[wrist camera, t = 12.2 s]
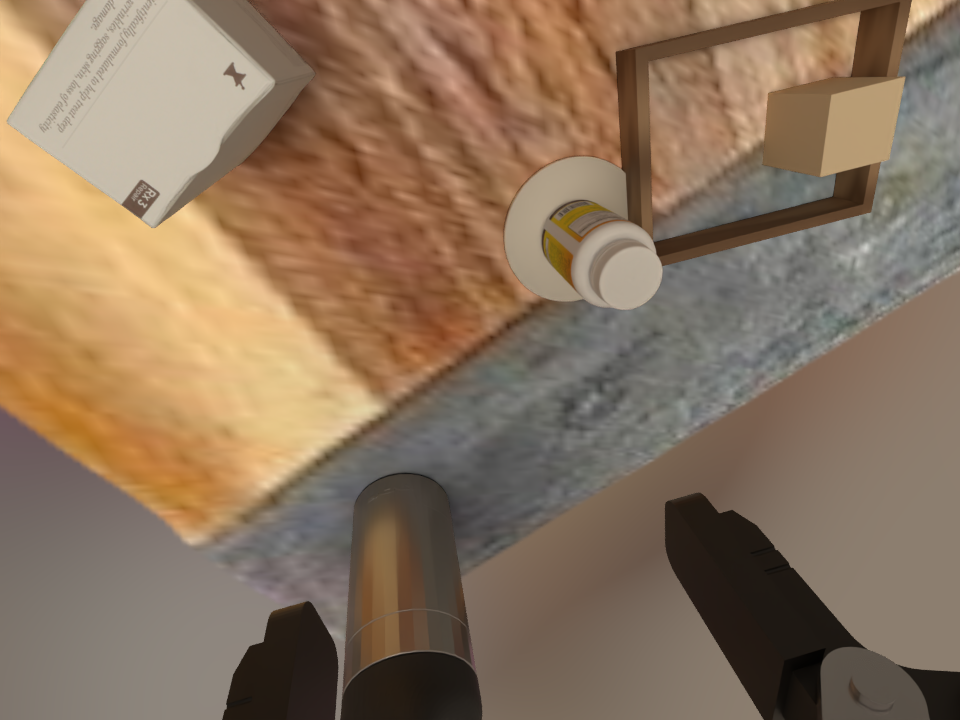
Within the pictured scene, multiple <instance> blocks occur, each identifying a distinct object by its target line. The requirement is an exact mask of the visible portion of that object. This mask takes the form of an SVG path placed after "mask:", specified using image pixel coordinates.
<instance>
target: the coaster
mask: <svg viewBox="0 0 960 720" xmlns="http://www.w3.org/2000/svg"><path fill="white" fill-rule="evenodd" d="M573 200H589V201H592V202H595V203H597V204H599V205H600V206H602V207H604V208H606V209H608V210H610V211H612V212H614V213H616V214H618V215H619V216H621V217H623V218H625V219H627V220H628V210H627V190H626V173H625V172H624V171H623V170H622V169H620V168H619V167H617V166H616V165H614V164H612V163H610V162H608V161H606V160H603V159H599V158H596V157H590V156H572V157H566V158H563V159H559V160H556V161H554V162H552V163H550V164H548V165H546V166H544V167H543V168H541V169H539V170H538V171H537V172H535V173H534V174H533V175H532V176H531V177H530V178H529V179H528V180H527V181H526V182H525V183H524V184H523V185H522V186H521V188H520V189H519V191H518V192H517V193H516V195H515V197H514V199H513V200H512V202H511V205H510V207H509V209H508V212H507V216H506V219H505V225H504V236H503V241H504V250H505V253H506V257H507V260H508V263H509V265H510V267H511V269H512V271H513V272H514V274H515V275H516V277H517V278H518V279H519V281H520V282H521V283H522V284H523V285H524V286H525V287H526V288H527V289H529V290H530V291H532V292H533V293H535V294H537V295H539V296H541V297H543V298H546V299H549V300H555V301H576V300H581V299H583V298H582V297H581V296H580V295H579V294H578V293H577V292H576V291H575V290H574V289H573V287H572V286H571V285H570V284H569V283H568V282H567V281H566V280H565V279H564V278H563V277H562V276H561V275H560V274H559V273H558V272H557V271H556V270H555V269H554V268H553V267H552V266H551V265H550V264H549V262H548V261H547V260H546V258H545V256H544V254H543V251H542V247H541V234H542V230H543V227H544V224H545V222H546V220H547V219H548V217H549V216H550V215H551V213H552V212H553V211H554V210H555V209H557V208H558V207H559V206H561V205H562V204H564V203H566V202H569V201H573Z"/></svg>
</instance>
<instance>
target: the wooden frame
mask: <svg viewBox="0 0 960 720" xmlns="http://www.w3.org/2000/svg"><path fill="white" fill-rule="evenodd" d="M911 2H912V0H835V1H831V2H826V3H822V4H818V5H814V6H809V7H805V8H801V9H797V10H792V11H788V12H784V13H780V14H775V15H771V16H767V17H763V18H758V19H754V20H750V21H746V22H741V23H737V24H733V25H728V26H724V27H720V28H716V29H711V30H707V31H703V32H699V33H694V34H690V35H686V36H682V37H677V38H673V39H669V40H665V41H660V42H656V43H652V44H647V45H643V46H639V47H635V48H630V49H626V50H622V51H618V52H616V65H617V83H618V102H619V120H620V139H621V158H622V170H623V171H624V172H625V173H626V190H627V210H628V220H629V221H631V222H632V223H634V224H636V225H638V226H640V227H641V228H642V229H644V230H645V231H646V232H647V233H648V234H649V236H650V237H651V239H652V240H653V225H652V187H651V149H650V111H649V72H648V61H651V60H656V59H660V58H664V57H668V56H673V55H677V54H681V53H685V52H690V51H694V50H698V49H702V48H706V47H711V46H715V45H719V44H723V43H728V42H732V41H736V40H740V39H745V38H749V37H753V36H757V35H761V34H766V33H770V32H774V31H778V30H783V29H787V28H791V27H795V26H800V25H804V24H808V23H812V22H816V21H821V20H825V19H829V18H833V17H838V16H842V15H846V14H850V13H855V12H859V11H861V17H860V24H859V30H858V37H857V43H856V50H855V56H854V63H853V70H852V76H851V77H897V74H898V69H899V64H900V59H901V54H902V48H903V43H904V38H905V33H906V28H907V22H908V17H909V12H910V7H911ZM880 163H881V162H878V163H874V164H870V165H866V166H862V167H858V168H854V169H850V170H846V171H842V172H838V173H837V175H836V181H835V188H834V195H833V197H830V198H826V199H822V200H818V201H815V202H811V203H807V204H803V205H799V206H795V207H791V208H787V209H783V210H779V211H775V212H772V213H768V214H764V215H760V216H756V217H752V218H748V219H744V220H740V221H736V222H732V223H729V224H725V225H721V226H717V227H713V228H709V229H705V230H701V231H697V232H693V233H689V234H686V235H682V236H678V237H674V238H670V239H666V240H662V241H658V242H654V245H655V249H656V255H657V256H658V257H659V259H660V261H661V264H662V266H665V265H668V264H672V263H676V262H680V261H684V260H688V259H692V258H696V257H699V256H703V255H707V254H711V253H715V252H719V251H723V250H727V249H730V248H734V247H738V246H742V245H746V244H750V243H754V242H757V241H761V240H765V239H769V238H773V237H777V236H781V235H785V234H788V233H792V232H796V231H800V230H804V229H808V228H812V227H816V226H819V225H823V224H827V223H831V222H835V221H839V220H843V219H846V218H850V217H854V216H858V215H862V214H866V213H870V212H871V210H872V204H873V199H874V194H875V189H876V184H877V178H878V173H879V168H880Z"/></svg>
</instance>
